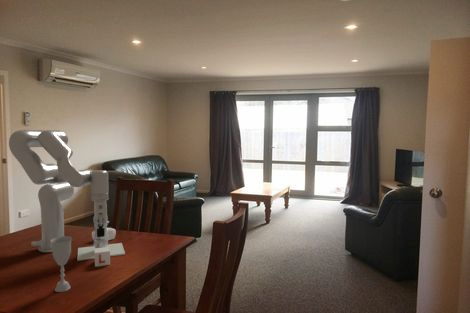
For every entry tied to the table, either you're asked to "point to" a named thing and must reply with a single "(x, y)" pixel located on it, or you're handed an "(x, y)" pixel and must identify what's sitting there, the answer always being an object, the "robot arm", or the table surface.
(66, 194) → the robot arm
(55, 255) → the chalice
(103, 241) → the metal bottle
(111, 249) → the sage mat
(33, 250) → the table surface
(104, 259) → the lettered cube
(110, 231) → the bust
